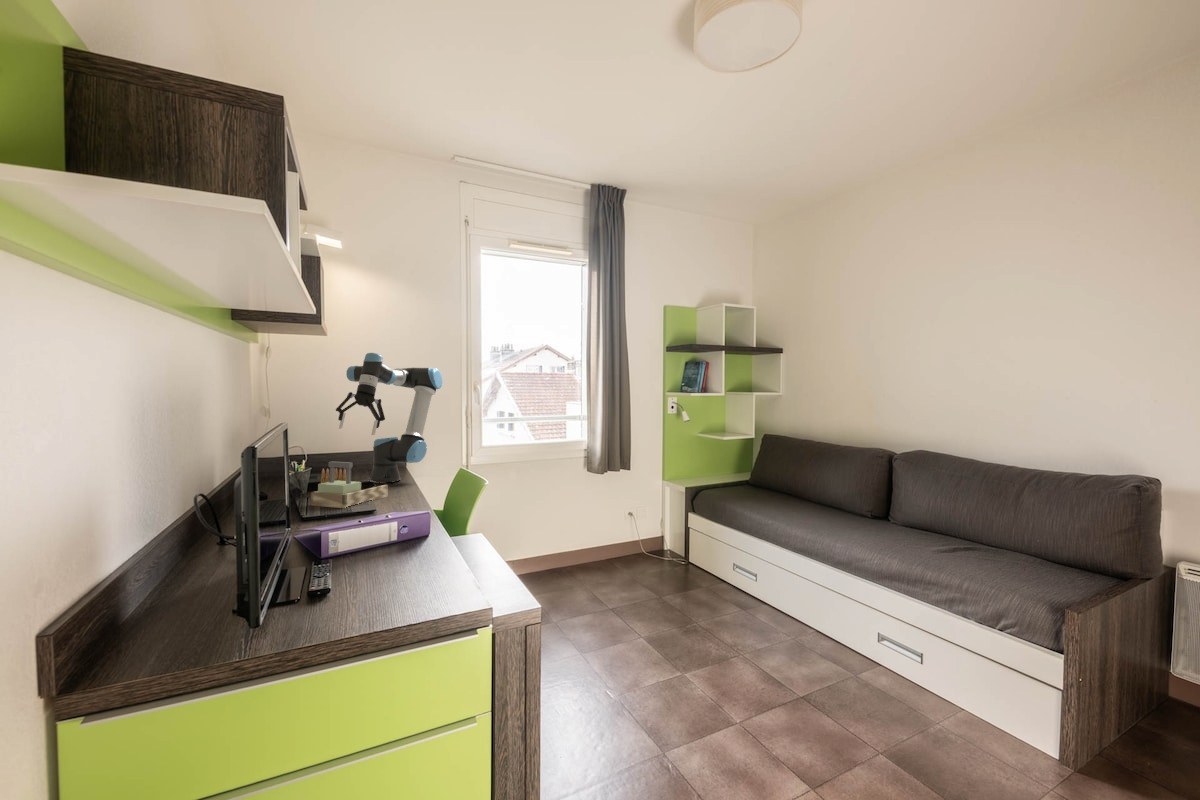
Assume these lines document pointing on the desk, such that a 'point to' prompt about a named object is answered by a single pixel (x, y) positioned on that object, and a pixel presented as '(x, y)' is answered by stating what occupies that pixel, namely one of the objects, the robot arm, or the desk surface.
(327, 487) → the green panel with handle
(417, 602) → the desk surface
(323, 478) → the ammunition clip
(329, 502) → the bay
